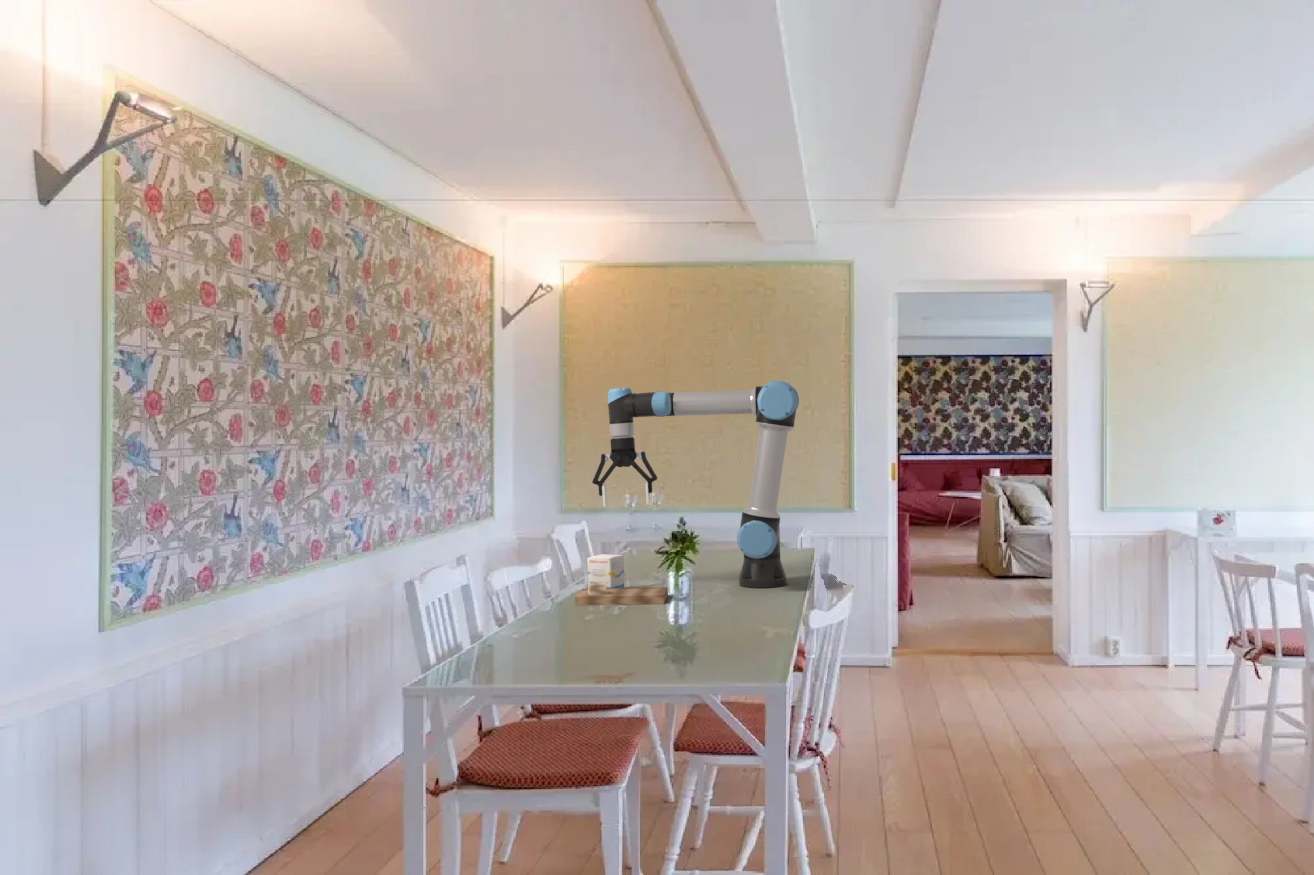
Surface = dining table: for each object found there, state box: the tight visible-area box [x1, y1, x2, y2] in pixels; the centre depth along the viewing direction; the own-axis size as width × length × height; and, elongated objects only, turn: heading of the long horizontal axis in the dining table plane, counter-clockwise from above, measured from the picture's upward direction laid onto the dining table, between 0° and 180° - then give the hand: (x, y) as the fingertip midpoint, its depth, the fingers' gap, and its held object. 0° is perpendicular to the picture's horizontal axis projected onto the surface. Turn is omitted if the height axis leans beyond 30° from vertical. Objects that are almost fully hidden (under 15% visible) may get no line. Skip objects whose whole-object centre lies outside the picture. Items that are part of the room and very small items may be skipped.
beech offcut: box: [587, 582, 607, 596], centre depth 300 cm, size 5×4×3 cm
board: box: [574, 586, 669, 606], centre depth 303 cm, size 26×14×3 cm, turn 85°
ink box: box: [586, 553, 625, 588], centre depth 317 cm, size 9×8×12 cm
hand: (626, 505), depth 318 cm, fingers open, 13 cm apart
